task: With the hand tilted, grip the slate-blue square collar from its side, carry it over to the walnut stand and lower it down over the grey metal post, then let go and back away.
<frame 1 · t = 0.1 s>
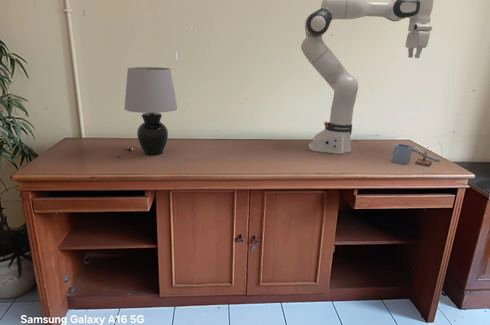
hand: (413, 57, 171), 48 cm above the table, tool pointing down, fingers open, 8 cm apart
adjustable wrench: (421, 155, 185), on the table
post stand: (423, 163, 169), on the table
lamp: (153, 153, 173), on the table
collar: (400, 161, 171), on the table
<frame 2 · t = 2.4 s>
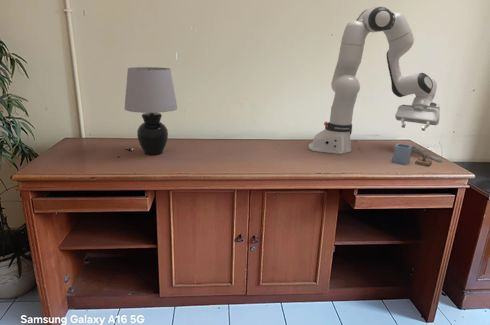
hand: (412, 128, 177), 14 cm above the table, tool tilted 45°, fingers open, 8 cm apart
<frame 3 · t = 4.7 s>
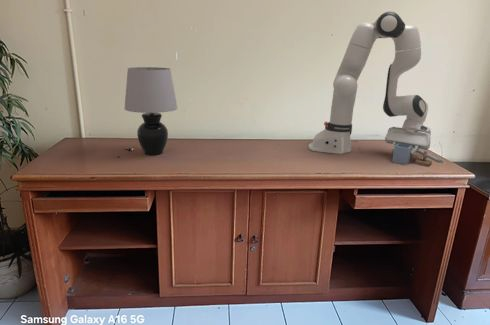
hand: (402, 152, 171), 4 cm above the table, tool tilted 45°, fingers closed on collar, 6 cm apart
collar: (400, 161, 171), on the table, touching gripper
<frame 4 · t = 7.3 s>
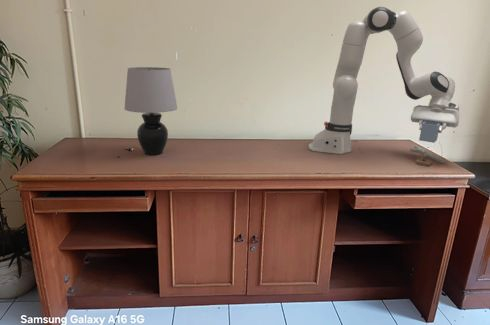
hand: (430, 130, 165), 16 cm above the table, tool tilted 45°, fingers closed on collar, 6 cm apart
collar: (428, 140, 166), point 12 cm above the table, touching gripper
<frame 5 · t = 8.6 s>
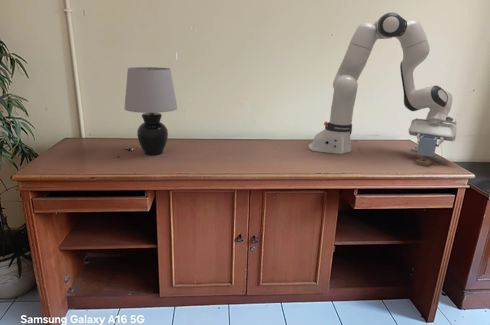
hand: (427, 144, 167), 9 cm above the table, tool tilted 45°, fingers closed on collar, 6 cm apart
collar: (425, 153, 168), point 5 cm above the table, touching gripper
when the fingers open (6 cm above the table, at t = 9.9 s): collar stays where it is, resting on post stand.
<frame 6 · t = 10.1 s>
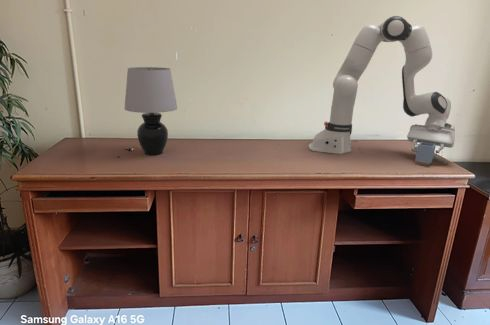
hand: (426, 150, 168), 6 cm above the table, tool tilted 45°, fingers open, 8 cm apart
collar: (423, 160, 169), point 1 cm above the table, touching post stand
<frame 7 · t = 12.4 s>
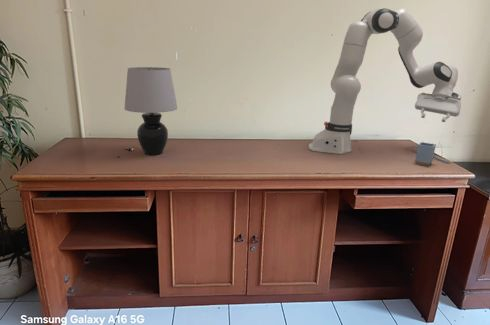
hand: (432, 119, 175), 19 cm above the table, tool tilted 40°, fingers open, 8 cm apart
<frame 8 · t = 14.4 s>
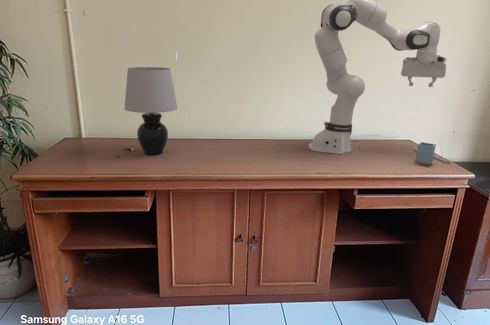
hand: (420, 86, 179), 34 cm above the table, tool pointing down, fingers open, 8 cm apart
at the end: collar 0.2 cm off-centre on the post stand, point 1.5 cm above the post stand's base; collar tilted 0°; the gripper is holding nothing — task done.
